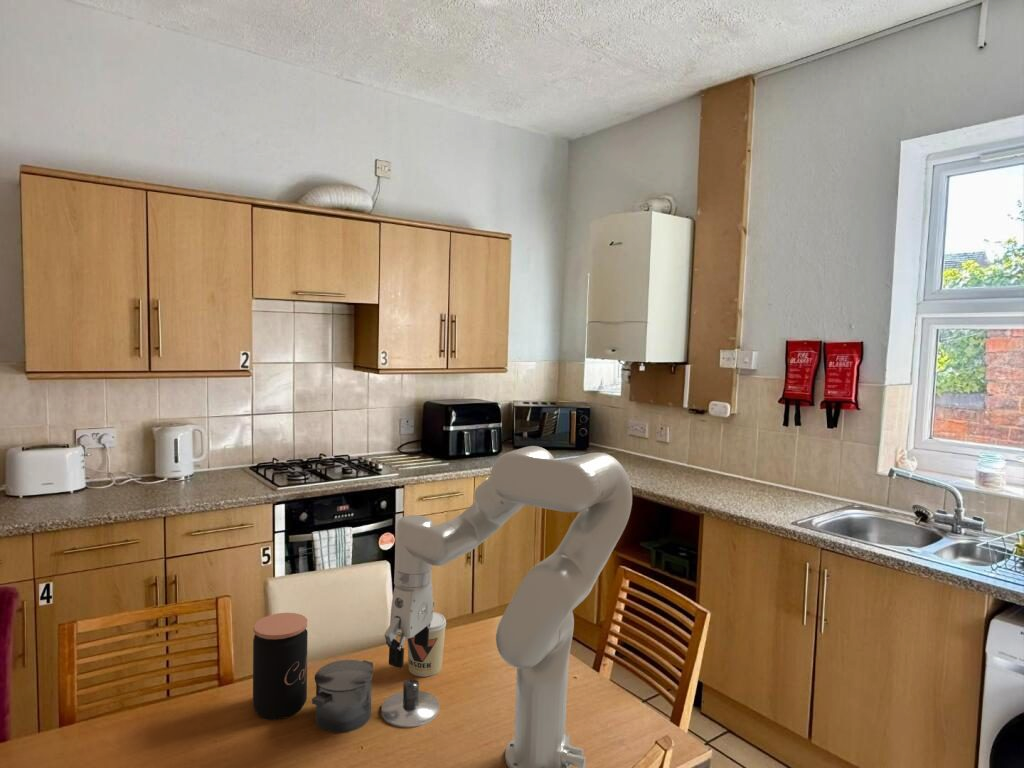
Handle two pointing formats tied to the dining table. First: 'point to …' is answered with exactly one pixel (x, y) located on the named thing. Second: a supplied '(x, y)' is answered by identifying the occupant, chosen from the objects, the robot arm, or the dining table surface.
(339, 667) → the pot
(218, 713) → the dining table surface
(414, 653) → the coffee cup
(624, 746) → the dining table surface
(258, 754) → the dining table surface
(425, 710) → the lid
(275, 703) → the coffee jar
